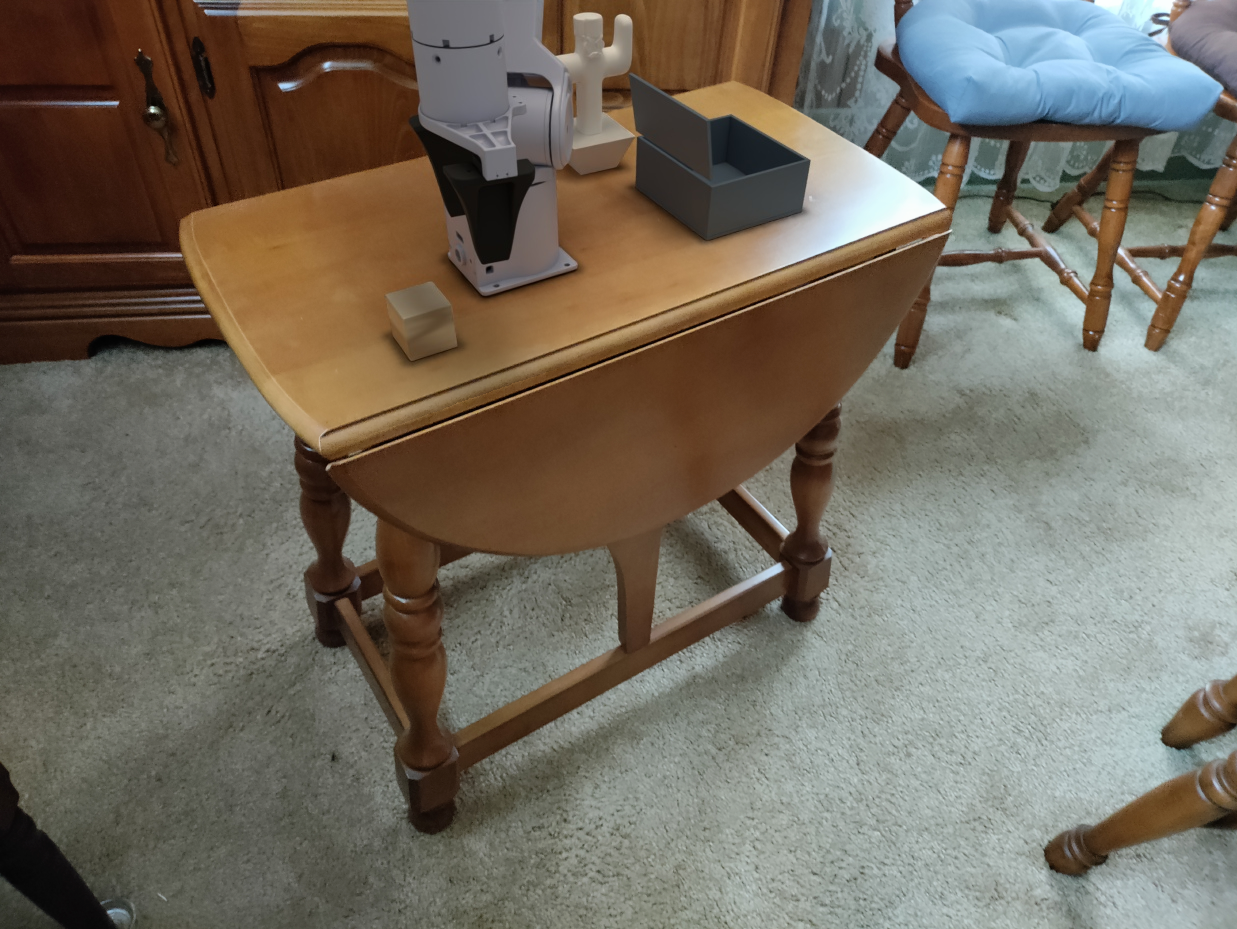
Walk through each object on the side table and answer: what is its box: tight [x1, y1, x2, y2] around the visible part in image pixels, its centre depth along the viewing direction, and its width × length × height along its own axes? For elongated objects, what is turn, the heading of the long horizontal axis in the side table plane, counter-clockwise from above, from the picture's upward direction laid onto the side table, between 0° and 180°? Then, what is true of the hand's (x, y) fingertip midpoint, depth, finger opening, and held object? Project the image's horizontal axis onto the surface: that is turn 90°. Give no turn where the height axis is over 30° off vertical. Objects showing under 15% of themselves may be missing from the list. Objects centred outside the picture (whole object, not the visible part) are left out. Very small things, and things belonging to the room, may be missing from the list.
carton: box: [634, 113, 812, 242], centre depth 86 cm, size 12×13×5 cm
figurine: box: [555, 12, 637, 176], centre depth 89 cm, size 7×9×15 cm
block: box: [384, 280, 458, 362], centre depth 68 cm, size 4×4×4 cm
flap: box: [628, 72, 713, 181], centre depth 80 cm, size 6×13×1 cm
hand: (478, 235), depth 63 cm, fingers open, 7 cm apart
